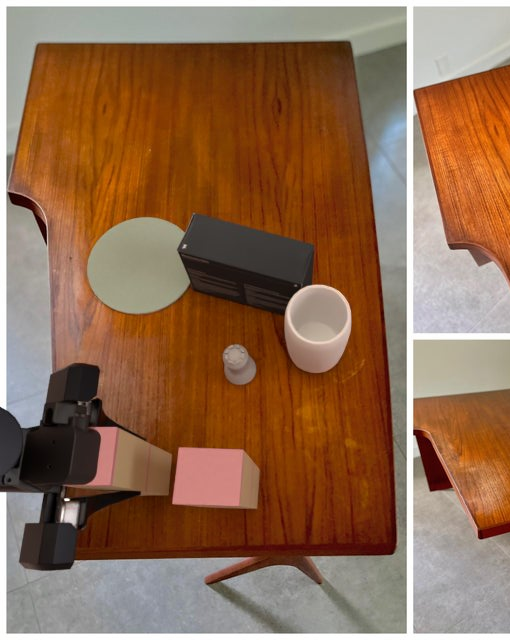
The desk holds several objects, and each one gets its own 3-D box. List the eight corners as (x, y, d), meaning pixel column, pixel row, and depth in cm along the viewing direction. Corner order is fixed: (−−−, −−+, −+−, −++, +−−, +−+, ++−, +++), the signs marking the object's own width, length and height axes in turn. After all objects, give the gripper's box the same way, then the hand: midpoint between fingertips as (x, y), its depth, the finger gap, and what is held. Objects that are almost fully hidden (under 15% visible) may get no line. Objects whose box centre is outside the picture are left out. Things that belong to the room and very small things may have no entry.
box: (314, 281, 80) (316, 243, 69) (301, 321, 78) (301, 288, 67) (207, 252, 81) (192, 209, 70) (191, 290, 79) (174, 253, 68)
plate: (97, 327, 76) (96, 326, 76) (80, 233, 82) (79, 231, 81) (207, 298, 79) (206, 297, 78) (183, 208, 84) (183, 206, 83)
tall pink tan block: (210, 507, 69) (171, 504, 48) (214, 467, 70) (178, 446, 49) (257, 509, 69) (239, 506, 48) (260, 468, 71) (243, 449, 50)
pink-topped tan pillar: (136, 495, 66) (62, 486, 46) (140, 454, 68) (71, 426, 47) (168, 495, 67) (110, 485, 46) (172, 454, 68) (117, 426, 47)
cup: (277, 332, 77) (273, 294, 64) (331, 313, 79) (338, 272, 65) (297, 386, 75) (297, 358, 61) (353, 365, 76) (364, 334, 63)
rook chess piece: (228, 389, 74) (220, 375, 67) (221, 359, 76) (213, 342, 68) (259, 381, 75) (255, 366, 67) (252, 351, 76) (247, 333, 69)
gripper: (-12, 582, 38) (177, 566, 49) (34, 334, 44) (191, 369, 55) (-57, 573, 45) (117, 560, 56) (-12, 360, 51) (136, 386, 62)
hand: (141, 467), depth 57 cm, fingers closed on pink-topped tan pillar, 5 cm apart
